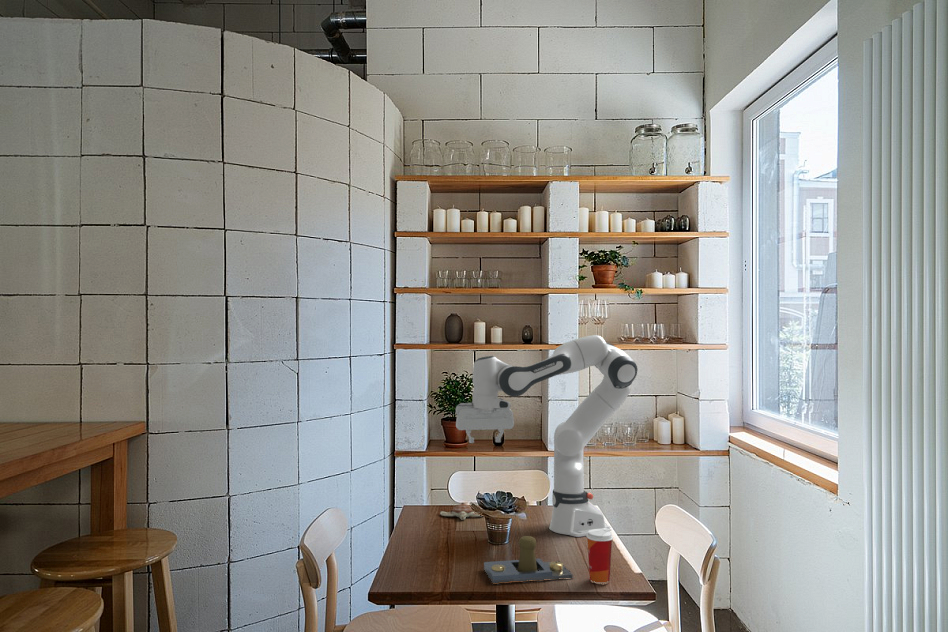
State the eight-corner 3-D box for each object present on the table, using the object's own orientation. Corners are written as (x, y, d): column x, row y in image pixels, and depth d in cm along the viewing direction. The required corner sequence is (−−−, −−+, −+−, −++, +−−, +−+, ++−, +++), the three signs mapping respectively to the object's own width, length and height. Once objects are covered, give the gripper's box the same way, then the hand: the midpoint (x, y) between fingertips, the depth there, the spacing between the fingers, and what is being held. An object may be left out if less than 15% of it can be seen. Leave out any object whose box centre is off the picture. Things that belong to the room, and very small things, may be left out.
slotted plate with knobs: (559, 564, 193) (559, 555, 194) (572, 578, 182) (572, 569, 182) (484, 570, 188) (484, 560, 189) (493, 584, 177) (493, 574, 177)
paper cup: (596, 574, 186) (596, 526, 187) (618, 581, 180) (618, 532, 181) (580, 581, 180) (580, 532, 181) (603, 588, 175) (603, 538, 176)
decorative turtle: (438, 522, 239) (439, 509, 239) (441, 510, 256) (441, 498, 256) (486, 523, 239) (486, 509, 239) (485, 511, 256) (485, 499, 256)
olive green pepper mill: (537, 578, 182) (537, 540, 183) (516, 577, 183) (517, 539, 183) (537, 571, 188) (537, 534, 189) (517, 570, 189) (517, 533, 189)
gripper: (457, 403, 212) (457, 444, 212) (515, 403, 216) (515, 443, 216) (454, 402, 218) (453, 441, 218) (510, 401, 223) (510, 440, 222)
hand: (484, 442), depth 217 cm, fingers open, 8 cm apart
